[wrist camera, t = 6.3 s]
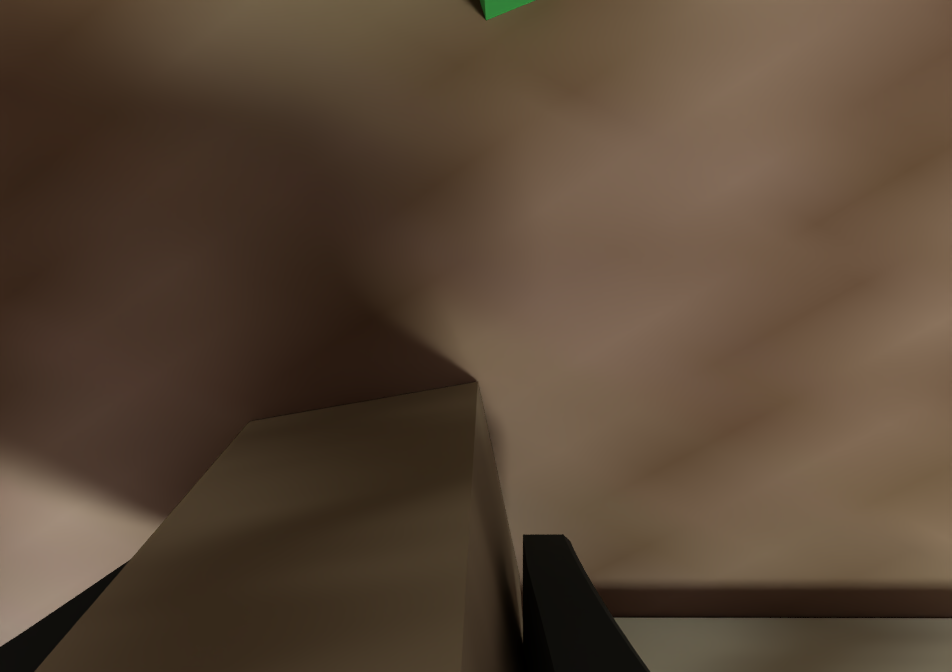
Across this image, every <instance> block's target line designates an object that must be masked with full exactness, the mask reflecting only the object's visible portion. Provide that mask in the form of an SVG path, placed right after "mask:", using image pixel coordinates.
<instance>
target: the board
mask: <svg viewBox="0 0 952 672" xmlns="http://www.w3.org/2000/svg"><path fill="white" fill-rule="evenodd" d="M614 619H615V621H616V622H617V624H618V625H619V627H620V628H621V630H622V631H623V633H624V634H625V636H626V637H627V639H628V640H629V642H630V643H631V645H632V646H633V648H634V649H635V651H636V652H637V654H638V655H639V656H640V658H641V659H642V661H643V662H644V663H645V665H646V666H647V668H648V669H649V670H650V672H952V618H614ZM522 621H523V618H522Z"/></svg>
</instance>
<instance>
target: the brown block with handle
mask: <svg viewBox="0 0 952 672" xmlns="http://www.w3.org/2000/svg"><path fill="white" fill-rule="evenodd" d="M34 672H525V670H524V654H523V621H522V605H521V589H520V575H519V571H518V566H517V561H516V557H515V552H514V547H513V543H512V538H511V533H510V529H509V524H508V520H507V515H506V510H505V506H504V501H503V496H502V492H501V487H500V482H499V478H498V473H497V468H496V464H495V459H494V454H493V450H492V445H491V440H490V436H489V431H488V426H487V422H486V417H485V412H484V408H483V403H482V399H481V394H480V389H479V385H478V382H473V383H467V384H461V385H456V386H450V387H444V388H439V389H433V390H427V391H421V392H416V393H410V394H404V395H398V396H393V397H387V398H381V399H376V400H370V401H364V402H358V403H353V404H347V405H341V406H335V407H330V408H324V409H318V410H313V411H307V412H301V413H295V414H290V415H284V416H278V417H272V418H267V419H261V420H255V421H250V422H249V423H248V424H247V425H246V426H245V427H244V428H243V430H242V431H241V432H240V433H239V434H238V435H237V437H236V438H235V439H234V440H233V441H232V442H231V444H230V445H229V446H228V447H227V448H226V449H225V451H224V452H223V453H222V454H221V455H220V456H219V458H218V459H217V460H216V461H215V462H214V463H213V464H212V466H211V467H210V468H209V469H208V470H207V471H206V473H205V474H204V475H203V476H202V477H201V478H200V480H199V481H198V482H197V483H196V484H195V485H194V487H193V488H192V489H191V490H190V491H189V492H188V494H187V495H186V496H185V497H184V498H183V499H182V501H181V502H180V503H179V504H178V505H177V506H176V508H175V509H174V510H173V511H172V512H171V513H170V514H169V516H168V517H167V518H166V519H165V520H164V521H163V523H162V524H161V525H160V526H159V527H158V528H157V530H156V531H155V532H154V533H153V534H152V535H151V537H150V538H149V539H148V540H147V541H146V542H145V544H144V545H143V546H142V547H141V548H140V549H139V551H138V552H137V553H136V554H135V555H134V556H133V558H132V559H131V560H130V561H129V562H128V563H127V564H126V566H125V567H124V568H123V569H122V570H121V571H120V573H119V574H118V575H117V576H116V577H115V578H114V580H113V581H112V582H111V583H110V584H109V585H108V587H107V588H106V589H105V590H104V591H103V592H102V594H101V595H100V596H99V597H98V598H97V599H96V601H95V602H94V603H93V604H92V605H91V606H90V608H89V609H88V610H87V611H86V612H85V613H84V614H83V616H82V617H81V618H80V619H79V620H78V621H77V623H76V624H75V625H74V626H73V627H72V628H71V630H70V631H69V632H68V633H67V634H66V635H65V637H64V638H63V639H62V640H61V641H60V642H59V644H58V645H57V646H56V647H55V648H54V649H53V651H52V652H51V653H50V654H49V655H48V656H47V658H46V659H45V660H44V661H43V662H42V663H41V664H40V666H39V667H38V668H37V669H36V670H35V671H34Z"/></svg>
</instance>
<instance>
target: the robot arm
mask: <svg viewBox="0 0 952 672" xmlns="http://www.w3.org/2000/svg"><path fill="white" fill-rule="evenodd" d="M129 561H130V560H129ZM129 561H128V562H129ZM128 562H126V563H125V564H123V565H122V566H120V567H119V568H117V569H116V570H114V571H113V572H111V573H110V574H108V575H107V576H105V577H104V578H103V579H101V580H100V581H98V582H97V583H95V584H94V585H92V586H91V587H89V588H88V589H86V590H85V591H83V592H82V593H80V594H79V595H78V596H76V597H75V598H73V599H72V600H70V601H69V602H67V603H66V604H64V605H63V606H61V607H60V608H58V609H57V610H55V611H54V612H52V613H51V614H49V615H48V616H46V617H45V618H43V619H42V620H40V621H39V622H38V623H36V624H35V625H33V626H32V627H30V628H29V629H27V630H26V631H24V632H23V633H21V634H20V635H18V636H17V637H15V638H13V639H12V640H10V641H9V642H7V643H6V644H4V645H2V646H1V647H0V672H34V671H35V670H36V669H37V668H38V667H39V666H40V664H41V663H42V662H43V661H44V660H45V659H46V658H47V656H48V655H49V654H50V653H51V652H52V651H53V649H54V648H55V647H56V646H57V645H58V644H59V642H60V641H61V640H62V639H63V638H64V637H65V635H66V634H67V633H68V632H69V631H70V630H71V628H72V627H73V626H74V625H75V624H76V623H77V621H78V620H79V619H80V618H81V617H82V616H83V614H84V613H85V612H86V611H87V610H88V609H89V608H90V606H91V605H92V604H93V603H94V602H95V601H96V599H97V598H98V597H99V596H100V595H101V594H102V592H103V591H104V590H105V589H106V588H107V587H108V585H109V584H110V583H111V582H112V581H113V580H114V578H115V577H116V576H117V575H118V574H119V573H120V571H121V570H122V569H123V568H124V567H125V566H126V564H127V563H128ZM523 654H524V670H525V672H650V670H649V669H648V668H647V666H646V665H645V663H644V662H643V661H642V659H641V658H640V656H639V655H638V654H637V652H636V651H635V649H634V648H633V646H632V645H631V643H630V642H629V640H628V639H627V637H626V636H625V634H624V633H623V631H622V630H621V628H620V627H619V625H618V624H617V622H616V621H615V619H614V618H613V617H612V615H611V613H610V612H609V610H608V609H607V607H606V605H605V604H604V602H603V601H602V599H601V597H600V596H599V594H598V592H597V591H596V589H595V587H594V586H593V584H592V582H591V581H590V579H589V577H588V575H587V574H586V572H585V570H584V568H583V566H582V564H581V563H580V561H579V559H578V557H577V555H576V553H575V551H574V549H573V547H572V544H571V542H570V541H569V540H568V539H567V538H566V537H565V536H564V535H523Z"/></svg>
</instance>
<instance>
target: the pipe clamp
mask: <svg viewBox="0 0 952 672" xmlns="http://www.w3.org/2000/svg"><path fill="white" fill-rule="evenodd" d="M532 1H535V0H480V3H481V6H482V9H483V13H484V16H485V19H486V20H488V19H491V18H493V17H496V16H498V15H500V14H503V13H505V12H508V11H510V10H513V9H515V8H517V7H520V6H522V5H525V4H527V3H530V2H532Z"/></svg>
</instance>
